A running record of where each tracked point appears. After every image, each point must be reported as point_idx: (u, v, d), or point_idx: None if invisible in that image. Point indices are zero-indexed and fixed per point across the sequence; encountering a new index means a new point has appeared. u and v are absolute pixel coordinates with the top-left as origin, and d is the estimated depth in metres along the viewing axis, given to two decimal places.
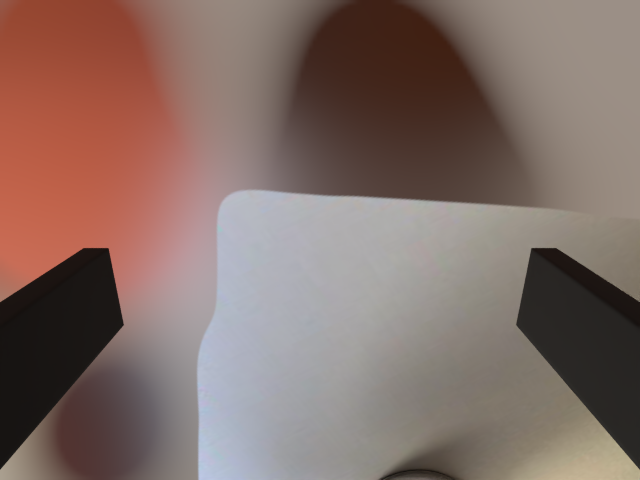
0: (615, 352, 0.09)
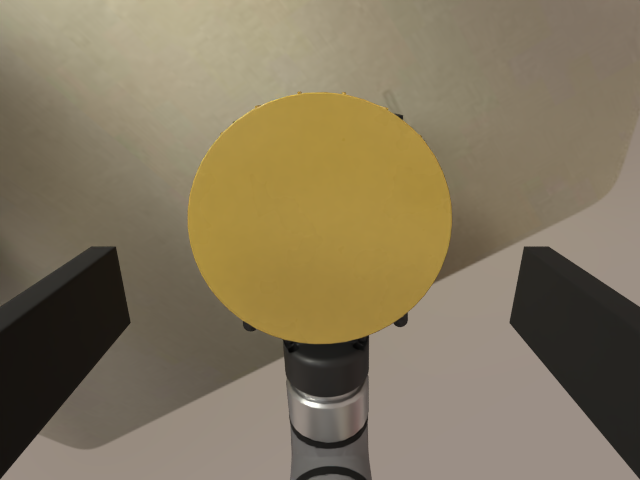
0: (604, 348, 0.09)
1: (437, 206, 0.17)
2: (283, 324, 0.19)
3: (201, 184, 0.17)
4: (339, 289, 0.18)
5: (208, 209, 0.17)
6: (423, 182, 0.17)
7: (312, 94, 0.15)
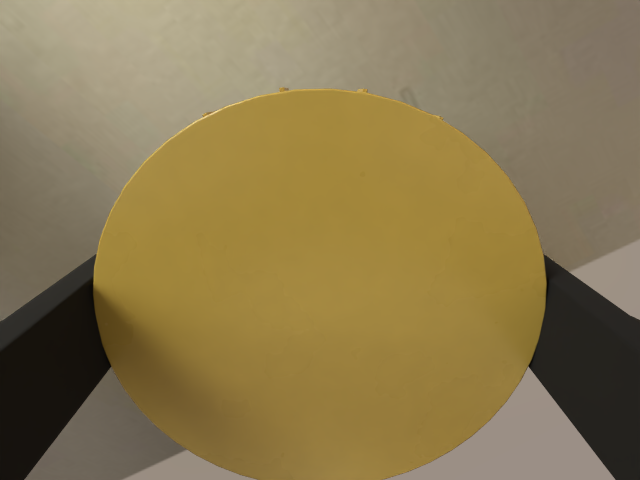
0: (572, 339, 0.09)
1: (522, 285, 0.10)
2: (261, 460, 0.12)
3: (112, 250, 0.10)
4: (352, 411, 0.11)
5: (128, 290, 0.10)
6: (501, 246, 0.09)
7: (306, 92, 0.08)
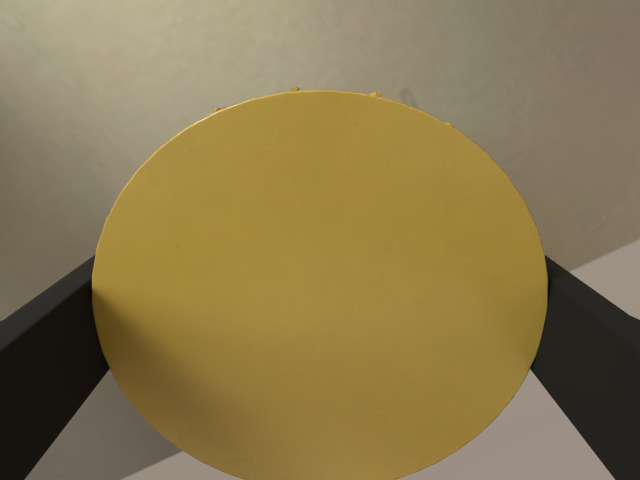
0: (572, 339, 0.09)
1: (351, 122, 0.08)
2: (450, 428, 0.11)
3: (190, 444, 0.12)
4: (432, 333, 0.10)
5: (228, 450, 0.12)
6: (293, 135, 0.09)
7: (95, 268, 0.10)
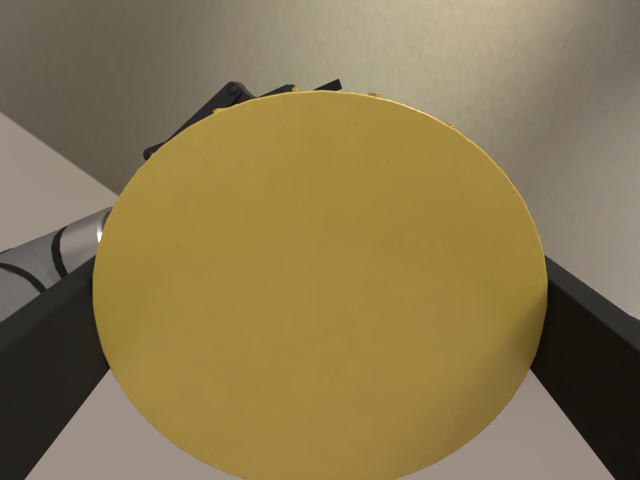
0: (572, 339, 0.09)
1: (351, 122, 0.08)
2: (450, 428, 0.11)
3: (190, 444, 0.12)
4: (432, 333, 0.10)
5: (228, 450, 0.12)
6: (293, 135, 0.09)
7: (95, 267, 0.10)
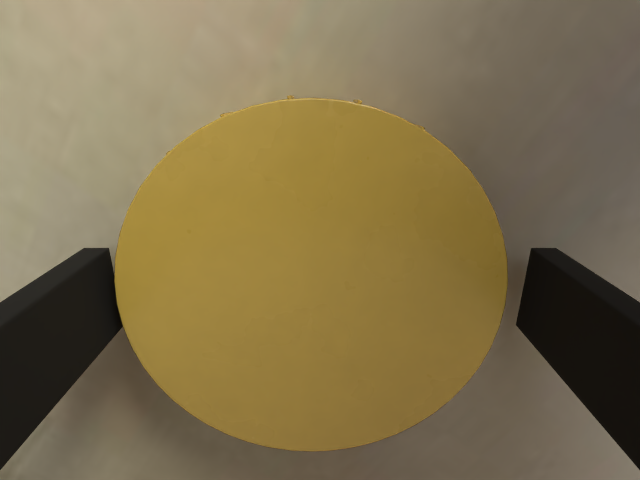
0: (615, 352, 0.09)
1: (337, 125, 0.10)
2: (427, 392, 0.13)
3: (198, 409, 0.13)
4: (409, 307, 0.12)
5: (231, 414, 0.13)
6: (288, 136, 0.10)
7: (118, 250, 0.11)
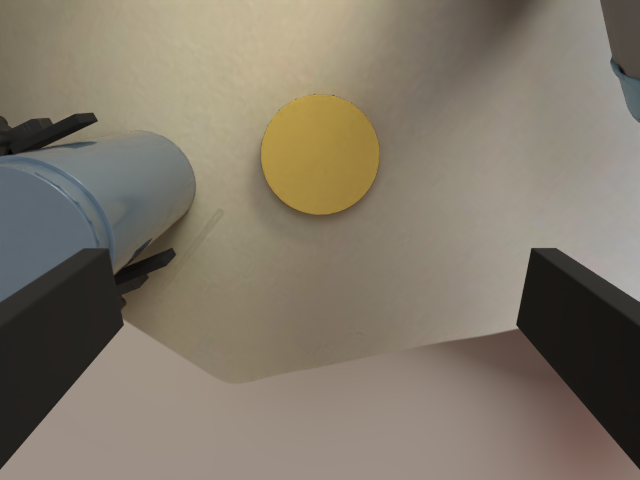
0: (615, 352, 0.09)
1: (327, 101, 0.37)
2: (357, 190, 0.40)
3: (282, 196, 0.40)
4: (350, 159, 0.39)
5: (293, 198, 0.40)
6: (314, 105, 0.37)
7: (263, 139, 0.38)
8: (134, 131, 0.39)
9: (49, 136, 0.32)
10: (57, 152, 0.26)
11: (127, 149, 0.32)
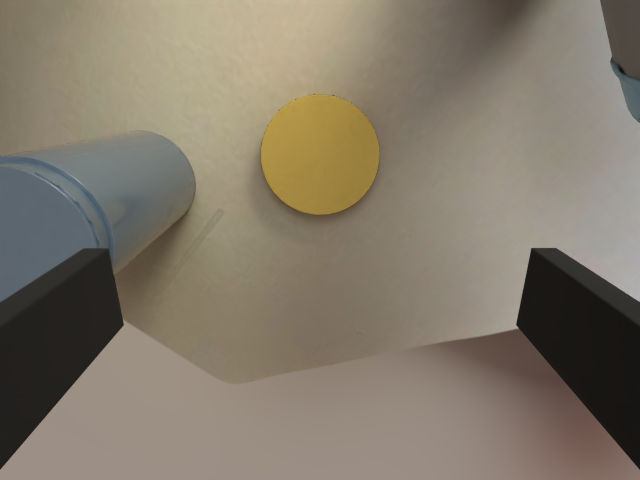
0: (615, 352, 0.09)
1: (327, 101, 0.37)
2: (357, 190, 0.40)
3: (282, 196, 0.40)
4: (350, 159, 0.39)
5: (293, 198, 0.40)
6: (314, 105, 0.37)
7: (263, 139, 0.38)
8: (134, 131, 0.39)
9: None
10: (57, 152, 0.26)
11: (127, 149, 0.32)
